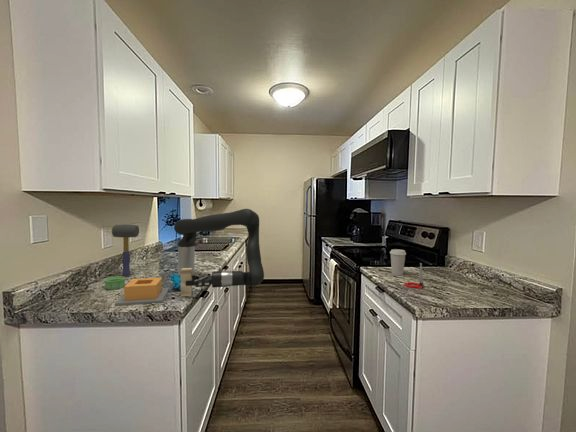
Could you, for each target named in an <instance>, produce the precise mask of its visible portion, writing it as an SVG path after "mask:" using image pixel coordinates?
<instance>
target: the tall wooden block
mask: <svg viewBox="0 0 576 432" xmlns="http://www.w3.org/2000/svg"><path fill="white" fill-rule="evenodd" d="M192 276H193V275H192V268H182V269H181V290H180V297H192V293H193V286H186V281H191V280H192Z"/></svg>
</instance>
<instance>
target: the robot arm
mask: <svg viewBox="0 0 576 432" xmlns="http://www.w3.org/2000/svg"><path fill="white" fill-rule="evenodd" d="M230 226H243V227H245V228H246V230H247V235H248V236H247V237H248V239H247V243H246V250H245V252H246V260H247V261H246V262H247V265H248V268H249V271H242V270H232V271H231V270H218V271H217V270H216V271H215V270H213V271H211V273H197V274H196V275H195V270H196V269H195V267H196V266H195V265H196V264H195V263H196V262H195V259H196V257H195V255H196V253H195V249H196V247H195V245H196V244H195V243H196V241H197V233H198V232H200V233H202V232H203V233H205V232H207V233H208V232H219V231H222V230H225V229H227V228H228V227H230ZM173 227H174V232H175V233H176V234H178V235H180V236H182V238H181V239H180V240H179V241H178V243H177V262H178V263H177V272H178V273H177V274H179V276H178V277H180V276H181V269H182V268H192V280H191V281H186V286H192V287H195V288H203V287H205V288H206V287H210V285H211V287H212V288H228V287H234V286H235V287H239V286H253V287H254V286H258V285H260V284H262V282H263V281H264V278H265V272H264V267H263V264H262V257H261V250H260V249H261V247H260V217H259V215H258V214H257V212H256V211H253V210H252V209H250V208H243V209H239V210H235V211H230V212H223V213H216V214H210V215H205V216H200V217H197V218H182V219H179V220H177V221H176V222H175V223H174V226H173Z"/></svg>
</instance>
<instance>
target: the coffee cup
mask: <svg viewBox="0 0 576 432" xmlns="http://www.w3.org/2000/svg"><path fill="white" fill-rule="evenodd" d="M389 254H390V264H391V274H392V275H393V276H404V269H405V261H406V255H407V252H406V250H404V249H397V248H394V249H391V250H390V251H389Z"/></svg>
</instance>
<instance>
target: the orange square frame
mask: <svg viewBox="0 0 576 432" xmlns="http://www.w3.org/2000/svg"><path fill="white" fill-rule="evenodd" d="M123 288H124V292H123V293H124V294H123V295H122V296H121V297H120V298H119V299H118V300H117V301H116V302H114V306H115V307H118V306H131V305H134V306H135V305H145V304H146V305H147V304H160V303H163V302H164V299H165V298H166V297H167V294H168V292H170V287H163V277H146V278H143V277H142V278H133V279H131V280H130V281H129V282H128V283H127V284H126V285H124V287H123Z"/></svg>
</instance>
